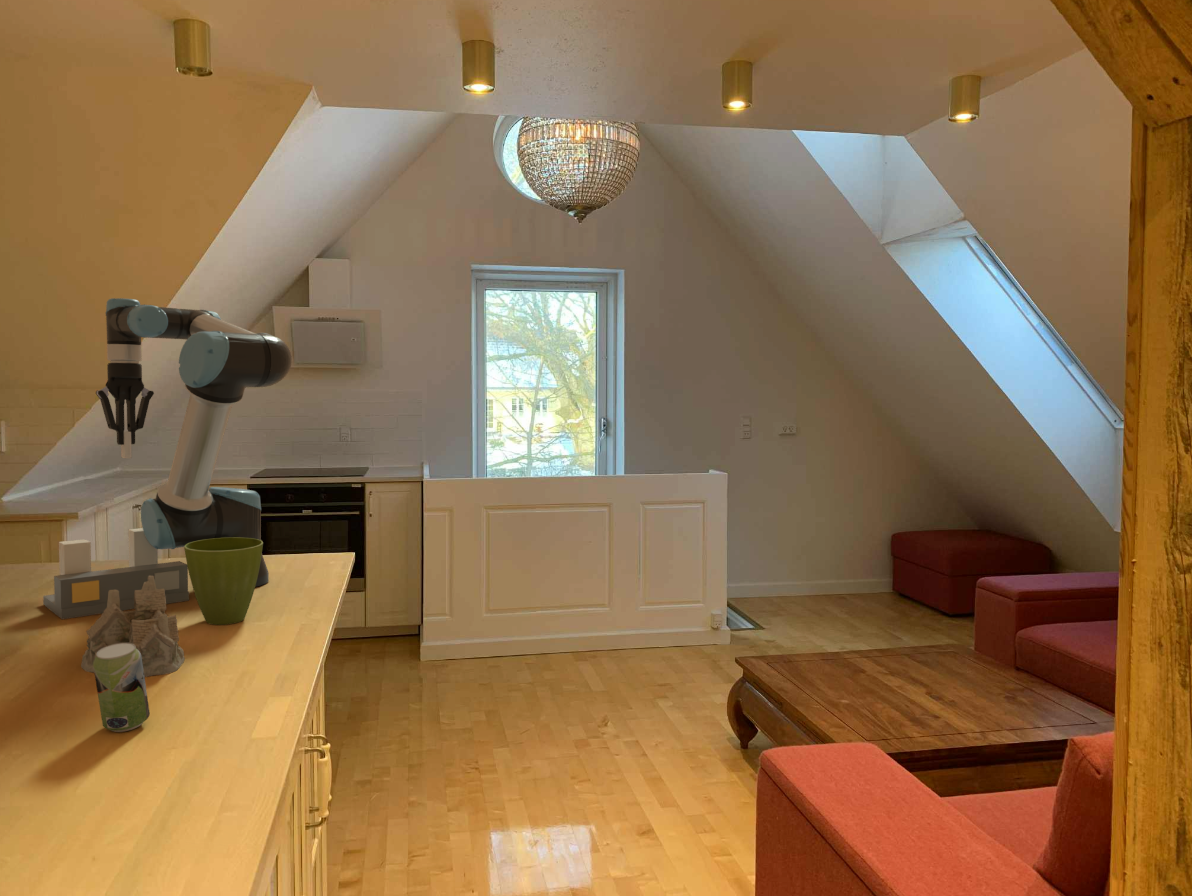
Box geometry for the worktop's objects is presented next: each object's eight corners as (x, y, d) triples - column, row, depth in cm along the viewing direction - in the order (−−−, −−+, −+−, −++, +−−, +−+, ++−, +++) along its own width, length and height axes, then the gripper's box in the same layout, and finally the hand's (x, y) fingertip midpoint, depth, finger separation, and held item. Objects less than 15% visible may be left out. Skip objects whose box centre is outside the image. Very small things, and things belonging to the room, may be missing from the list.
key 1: (60, 597, 191) (58, 541, 190) (86, 594, 195) (85, 539, 194) (65, 601, 188) (63, 544, 187) (91, 597, 192) (90, 542, 191)
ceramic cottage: (85, 655, 160) (86, 573, 158) (186, 650, 166) (188, 571, 164) (71, 689, 146) (72, 599, 144) (182, 682, 152) (185, 596, 150)
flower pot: (235, 633, 176) (235, 552, 175) (168, 627, 179) (167, 548, 178) (277, 614, 191) (277, 539, 190) (214, 609, 194) (214, 535, 192)
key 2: (129, 580, 208) (128, 529, 207) (152, 577, 212) (151, 527, 211) (134, 583, 205) (134, 531, 204) (158, 580, 209) (157, 529, 208)
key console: (43, 604, 194) (42, 568, 193) (165, 588, 211) (165, 554, 210) (61, 619, 183) (61, 580, 182) (188, 600, 200) (188, 565, 200)
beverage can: (158, 719, 131) (157, 639, 130) (127, 739, 124) (126, 654, 123) (118, 717, 132) (116, 637, 131) (84, 736, 125) (83, 652, 124)
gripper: (147, 363, 228) (148, 455, 230) (90, 361, 219) (92, 457, 221) (157, 363, 223) (159, 457, 225) (100, 361, 214) (102, 460, 215)
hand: (126, 457), depth 223 cm, fingers closed
